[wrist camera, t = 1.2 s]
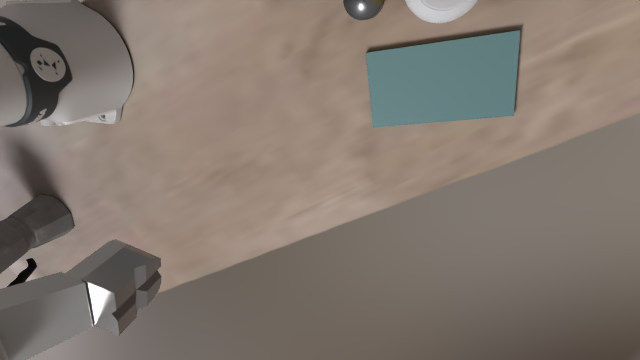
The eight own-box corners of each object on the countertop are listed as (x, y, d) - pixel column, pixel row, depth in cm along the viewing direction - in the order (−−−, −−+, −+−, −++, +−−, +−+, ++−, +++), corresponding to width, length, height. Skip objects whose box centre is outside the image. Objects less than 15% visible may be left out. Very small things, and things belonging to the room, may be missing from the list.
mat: (373, 126, 43) (372, 127, 43) (366, 52, 40) (365, 52, 39) (512, 114, 39) (513, 115, 38) (518, 30, 35) (520, 30, 35)
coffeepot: (20, 186, 65) (-104, 241, 50) (53, 181, 62) (-67, 237, 47) (61, 251, 71) (-38, 317, 56) (93, 249, 68) (-1, 319, 53)
